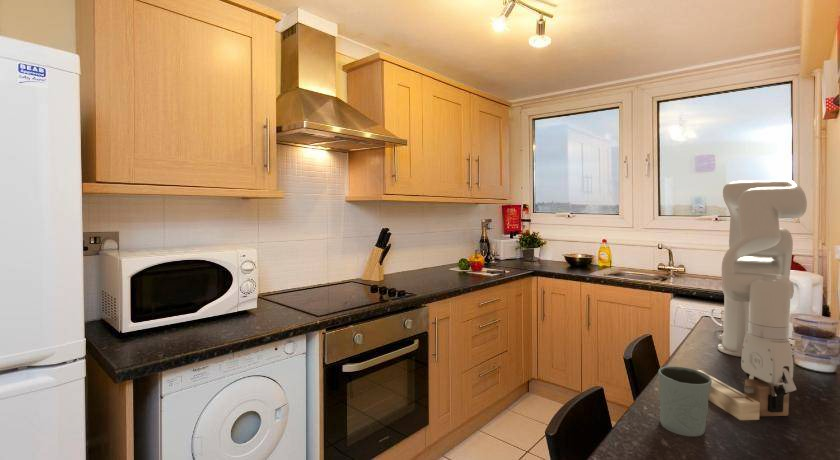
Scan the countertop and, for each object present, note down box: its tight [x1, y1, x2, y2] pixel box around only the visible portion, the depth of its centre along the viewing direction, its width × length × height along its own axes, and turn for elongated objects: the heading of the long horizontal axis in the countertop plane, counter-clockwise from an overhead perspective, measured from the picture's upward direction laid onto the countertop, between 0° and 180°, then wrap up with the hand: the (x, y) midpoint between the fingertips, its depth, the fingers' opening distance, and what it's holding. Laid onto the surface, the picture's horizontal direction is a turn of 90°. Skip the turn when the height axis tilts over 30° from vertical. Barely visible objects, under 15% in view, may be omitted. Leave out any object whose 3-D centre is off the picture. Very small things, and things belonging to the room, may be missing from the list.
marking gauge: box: [743, 378, 790, 417], centre depth 104 cm, size 4×10×7 cm, turn 92°
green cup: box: [658, 365, 712, 437], centre depth 97 cm, size 10×10×12 cm
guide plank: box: [696, 369, 760, 421], centre depth 110 cm, size 20×4×4 cm, turn 2°
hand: (766, 405), depth 104 cm, fingers closed on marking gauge, 4 cm apart
